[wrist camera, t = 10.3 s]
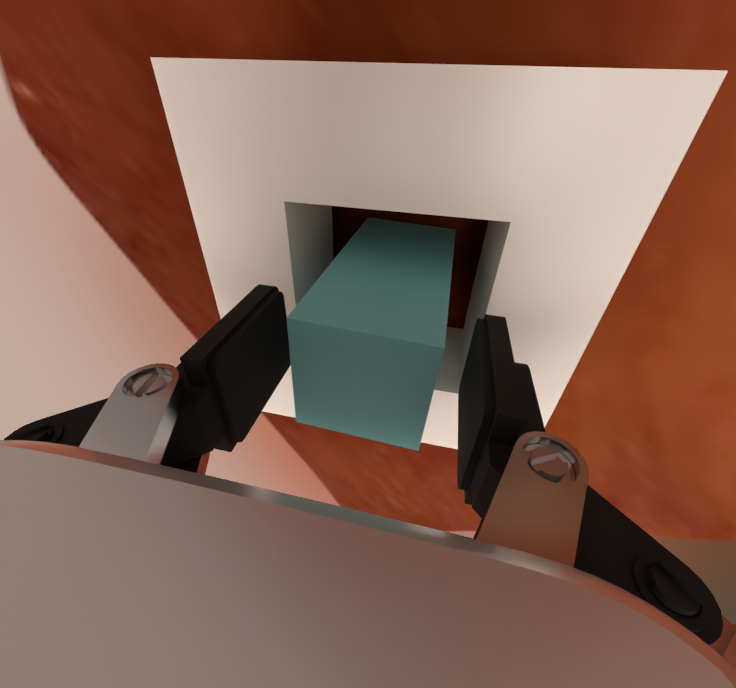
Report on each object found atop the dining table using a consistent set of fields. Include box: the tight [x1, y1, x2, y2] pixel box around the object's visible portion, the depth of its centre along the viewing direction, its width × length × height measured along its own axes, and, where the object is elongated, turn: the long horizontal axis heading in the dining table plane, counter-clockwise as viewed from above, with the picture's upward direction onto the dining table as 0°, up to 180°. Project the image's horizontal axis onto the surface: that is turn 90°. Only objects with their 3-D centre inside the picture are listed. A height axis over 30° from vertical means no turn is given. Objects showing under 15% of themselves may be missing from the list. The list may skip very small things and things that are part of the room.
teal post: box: [287, 217, 456, 451], centre depth 13 cm, size 4×4×9 cm
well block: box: [150, 57, 728, 449], centre depth 14 cm, size 14×14×5 cm
